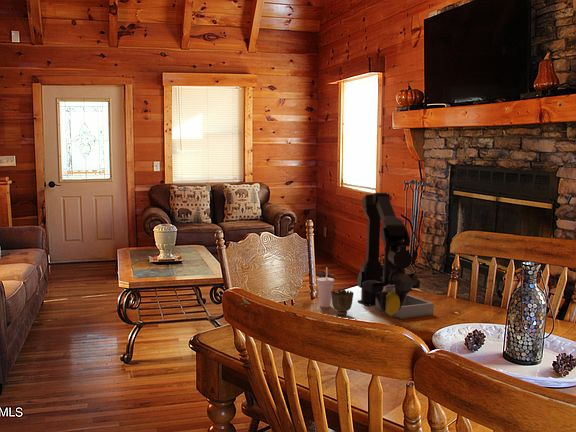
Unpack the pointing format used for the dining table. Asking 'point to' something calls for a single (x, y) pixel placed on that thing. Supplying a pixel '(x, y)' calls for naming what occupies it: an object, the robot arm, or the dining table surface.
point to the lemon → (392, 303)
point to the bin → (411, 308)
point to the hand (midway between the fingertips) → (390, 310)
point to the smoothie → (325, 290)
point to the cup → (342, 301)
